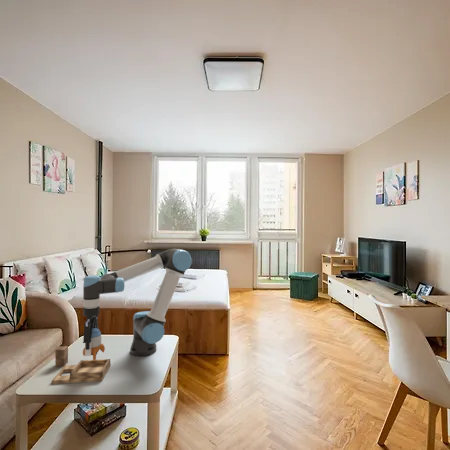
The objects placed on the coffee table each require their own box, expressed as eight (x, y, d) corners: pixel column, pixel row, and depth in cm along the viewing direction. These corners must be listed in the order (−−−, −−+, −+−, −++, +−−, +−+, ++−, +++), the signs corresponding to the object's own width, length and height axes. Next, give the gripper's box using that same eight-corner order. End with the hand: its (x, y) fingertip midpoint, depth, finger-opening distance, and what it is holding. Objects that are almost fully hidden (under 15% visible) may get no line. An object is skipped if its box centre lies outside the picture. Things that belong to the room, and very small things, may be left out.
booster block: (67, 362, 160) (67, 346, 160) (64, 366, 155) (64, 349, 155) (59, 362, 159) (59, 346, 159) (55, 366, 155) (55, 349, 155)
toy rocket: (98, 363, 143) (91, 335, 140) (79, 365, 144) (71, 337, 142) (109, 350, 153) (102, 324, 150) (90, 352, 154) (83, 326, 152)
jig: (110, 366, 156) (110, 358, 156) (102, 380, 141) (102, 372, 141) (65, 368, 153) (65, 360, 153) (51, 383, 138) (51, 375, 138)
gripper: (90, 301, 157) (90, 343, 157) (75, 312, 137) (75, 361, 137) (105, 301, 158) (104, 343, 158) (92, 312, 138) (91, 360, 138)
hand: (90, 351), depth 147 cm, fingers closed on toy rocket, 7 cm apart
